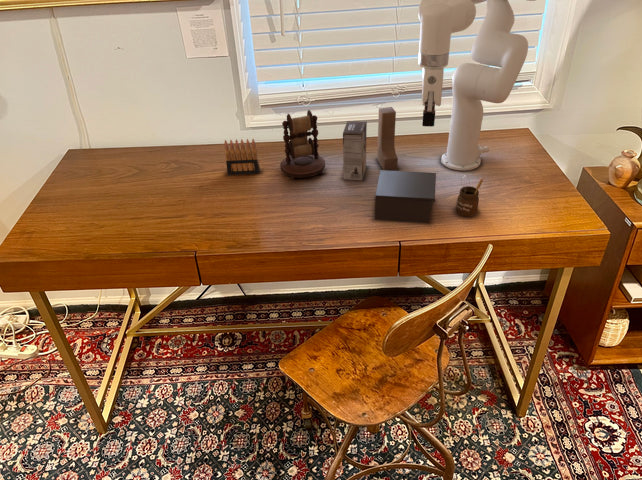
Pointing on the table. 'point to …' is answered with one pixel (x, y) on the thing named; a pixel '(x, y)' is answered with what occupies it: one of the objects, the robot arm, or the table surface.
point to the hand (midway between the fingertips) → (428, 125)
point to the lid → (406, 185)
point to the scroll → (301, 147)
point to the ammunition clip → (237, 160)
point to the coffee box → (354, 150)
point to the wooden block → (387, 139)
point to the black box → (402, 210)
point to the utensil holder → (468, 200)
